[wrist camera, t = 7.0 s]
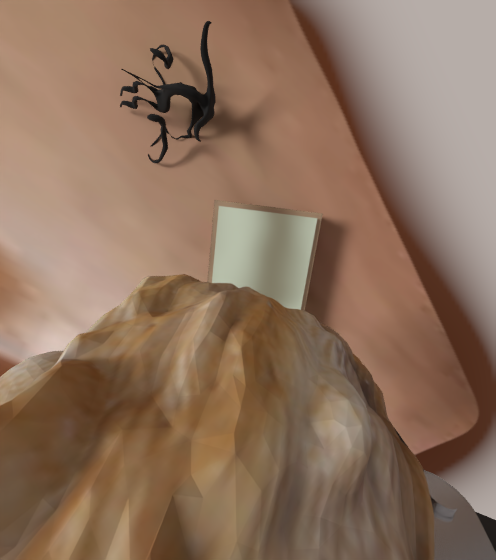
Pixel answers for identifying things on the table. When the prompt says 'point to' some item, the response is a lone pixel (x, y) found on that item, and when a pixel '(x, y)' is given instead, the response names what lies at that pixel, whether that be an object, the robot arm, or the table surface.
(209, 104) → the creature
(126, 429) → the lion figurine
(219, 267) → the plinth
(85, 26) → the table surface
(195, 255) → the table surface
